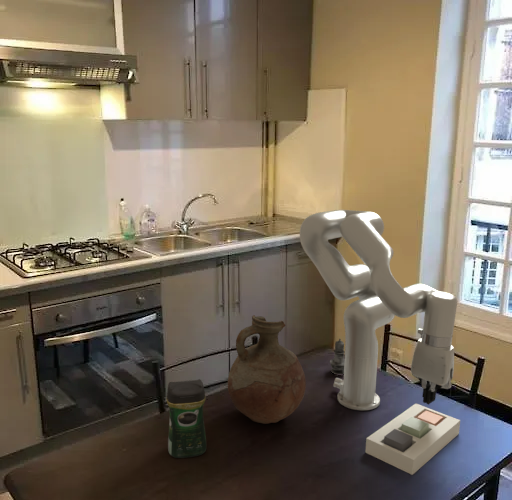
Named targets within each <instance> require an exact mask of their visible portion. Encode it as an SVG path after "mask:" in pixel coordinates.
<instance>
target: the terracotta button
mask: <svg viewBox="0 0 512 500" xmlns="http://www.w3.org/2000/svg"><path fill="white" fill-rule="evenodd" d="M417 419H419V420H422V421H424V422H427V423H429V424H432V425H434V426H437V425H438V424H439V423H441V422H442V421H443V417H442V416H439V415H436V414H434V413H431V412H429V411H425V412H423V413H422V414H421V415H419V416H418V417H417Z"/></svg>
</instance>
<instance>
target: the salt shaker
mask: <svg viewBox="0 0 512 500" xmlns="http://www.w3.org/2000/svg"><path fill="white" fill-rule="evenodd" d="M333 353H334V355H333V359H330V360H329V363H330V366H331V368H332V369H330V371H332V373H334V374H344V363H345V342H344V341H342V340H341V338H338V340H337V341H335V345H334V350H333ZM332 373H331V374H332Z"/></svg>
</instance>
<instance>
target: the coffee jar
mask: <svg viewBox="0 0 512 500" xmlns="http://www.w3.org/2000/svg"><path fill="white" fill-rule="evenodd" d="M205 391H206V390H205V387H204V383H203V380H202V379H200V378H199V379H193V380H192V379H190V380H181V381H169V382H168V384H167V393H166V399H165V401H166V403H167V406H168V409H169V421H168V422H169V424H168V438H167V449H168V453H169V455H170V456H171V457H173V458H175V459H185V458H193V457H198V456H202V455H203V454H204V453H205V452H206V451H207V437H206V435H207V434H206V428H205V427H206V426H205V420H204V406H205V405H204V404H205V402H206V392H205Z"/></svg>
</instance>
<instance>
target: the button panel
mask: <svg viewBox="0 0 512 500" xmlns="http://www.w3.org/2000/svg"><path fill="white" fill-rule="evenodd" d="M425 411H429V412H431V413H434V414H436V415H439V416H442V417H443V421H442V422H441V423H439V424H438V425H437V426H434V425H432V424H429V423H428V424H429V428H428V433H427V434H426V435H424V436H423V437H422V438H421V439H420V438H417V437H415V436H413V435H411V436H413V439H412V446H411V447H409V448H408V449H407V450H406V451H405V452H401V451H399V450H397V449H395V448H392V447H390V446H388V445H386V444H384V436H386V435H387V434H388V433H390V432H391V431H392V430H394V429H396V430H399V431H401V427H402V423H403V422H405V421H406V420H408V419H409V418H410V417H413V418H416V419H417V417H418V416H419V415H421V414H422V413H423V412H425ZM418 420H419V419H418ZM421 421H422V420H421ZM423 422H424V421H423ZM426 423H427V422H426ZM460 425H461V419H458V418H455V417H453V416H451V415H447V414H444V413H442V412H440V411H437V410H434V409H432V408H429V407H427V406H424V405H421V404H419V403H414V404H413V405H411V406H410V407H408V408H407V409H406V410H405V411H403V412H402V413H400V414H399V415H397V416H396V417H395V418H393V419H392V420H390V421H389V422H388V423H386V424H384V425H383V426H381V427H380V428H379V429H378V430H376V431H374V432H373V433H372V434H370V435H369V436H367V437H366V438H365V439H366V440H365V441H366V442H365V453H366V454H367V455H370V456H372V457H373V458H377V459H378V460H381V462H382V461H383V462H385V463H386V464H388V465H391V466H393V467H395V468H397V469H399V470H401V471H403V472H405V473H406V474H410V475H411V476H413V475H414V474H416V473H417V472H418V471H419V469H421V468H423V466H424V465H425V464H427V462H429V461H430V460H431V459H432V458H433V457H434V456H435V455H436V454H438V453H439V452H440V451H442V449H443V448H445V447H446V446H447V445H448V444H449V443H451V441H453V440H454V439H455V438H456V437H457V436H458V435H459V434H460V429H461V427H460ZM401 432H403V431H401ZM403 433H406V432H403ZM406 434H408V433H406ZM408 435H410V434H408Z"/></svg>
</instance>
